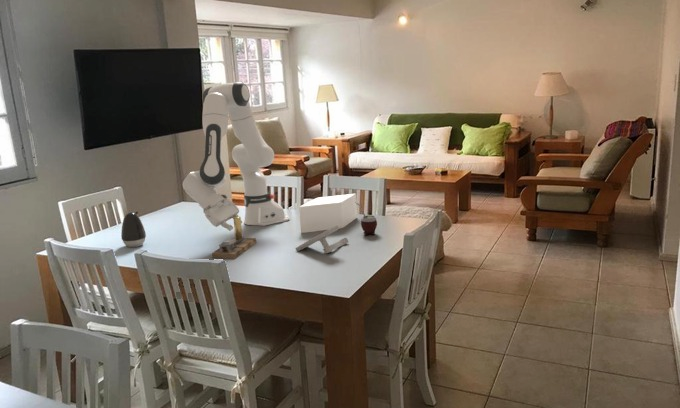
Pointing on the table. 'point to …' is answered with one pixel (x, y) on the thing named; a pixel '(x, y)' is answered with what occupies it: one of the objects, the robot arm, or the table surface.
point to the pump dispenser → (132, 230)
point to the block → (328, 212)
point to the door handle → (324, 241)
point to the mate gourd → (368, 223)
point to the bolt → (237, 230)
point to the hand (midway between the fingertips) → (236, 226)
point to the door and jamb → (233, 248)
